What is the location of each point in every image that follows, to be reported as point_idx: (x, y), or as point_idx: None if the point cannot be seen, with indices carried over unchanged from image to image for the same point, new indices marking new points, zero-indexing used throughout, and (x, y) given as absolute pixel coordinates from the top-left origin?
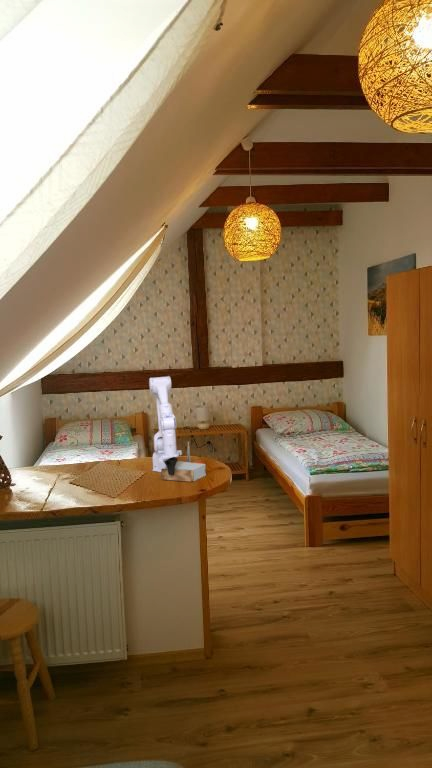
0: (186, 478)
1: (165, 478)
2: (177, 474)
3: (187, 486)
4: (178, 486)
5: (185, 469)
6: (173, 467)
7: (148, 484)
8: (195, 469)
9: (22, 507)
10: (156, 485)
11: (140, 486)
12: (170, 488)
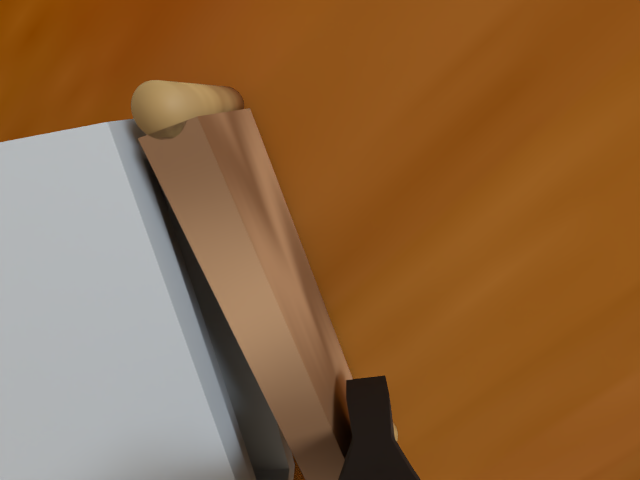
0: (272, 189)
1: (393, 423)
2: (317, 343)
3: (430, 11)
4: (485, 137)
5: (178, 310)
6: (396, 472)
7: (551, 460)
8: (23, 139)
9: None
10: (552, 383)
11: (635, 477)
12: (601, 171)
